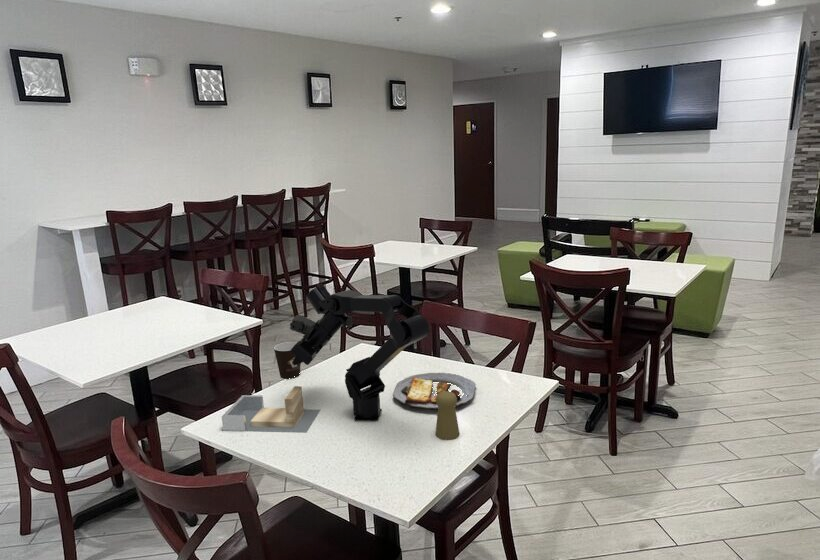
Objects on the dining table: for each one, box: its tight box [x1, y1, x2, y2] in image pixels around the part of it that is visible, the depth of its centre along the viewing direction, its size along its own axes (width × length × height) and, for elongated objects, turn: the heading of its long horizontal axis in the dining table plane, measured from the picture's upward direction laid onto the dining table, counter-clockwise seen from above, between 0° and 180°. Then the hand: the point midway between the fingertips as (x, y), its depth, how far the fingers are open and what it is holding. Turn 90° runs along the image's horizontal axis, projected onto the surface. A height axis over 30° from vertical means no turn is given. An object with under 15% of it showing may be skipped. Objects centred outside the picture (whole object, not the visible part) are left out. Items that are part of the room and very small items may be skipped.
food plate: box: [392, 372, 476, 410], centre depth 161 cm, size 25×23×4 cm
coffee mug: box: [273, 341, 302, 380], centre depth 180 cm, size 12×9×10 cm
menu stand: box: [250, 385, 305, 427], centre depth 148 cm, size 12×8×8 cm, turn 83°
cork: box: [434, 391, 460, 441], centre depth 137 cm, size 6×6×11 cm
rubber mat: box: [221, 408, 321, 434], centre depth 149 cm, size 23×13×1 cm, turn 83°
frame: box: [221, 394, 265, 432], centre depth 150 cm, size 6×13×4 cm, turn 173°
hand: (293, 363), depth 157 cm, fingers closed
